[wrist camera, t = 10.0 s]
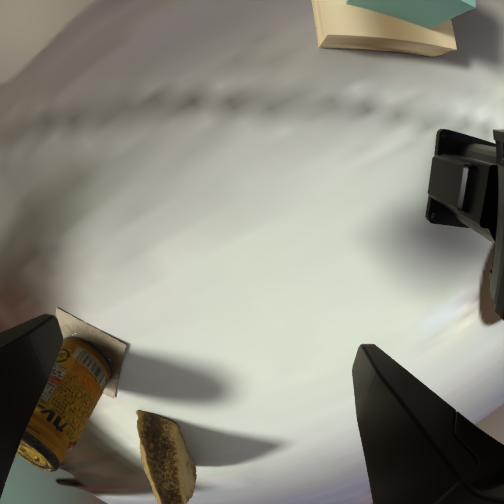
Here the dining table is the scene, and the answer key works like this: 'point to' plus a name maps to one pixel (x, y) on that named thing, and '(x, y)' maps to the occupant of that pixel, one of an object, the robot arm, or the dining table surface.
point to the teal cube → (418, 9)
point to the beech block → (377, 31)
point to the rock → (165, 459)
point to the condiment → (71, 392)
